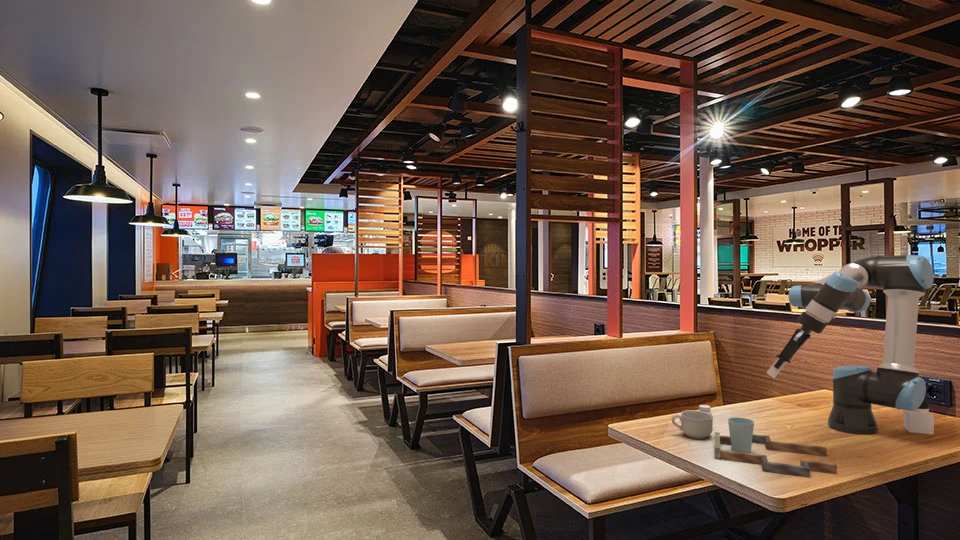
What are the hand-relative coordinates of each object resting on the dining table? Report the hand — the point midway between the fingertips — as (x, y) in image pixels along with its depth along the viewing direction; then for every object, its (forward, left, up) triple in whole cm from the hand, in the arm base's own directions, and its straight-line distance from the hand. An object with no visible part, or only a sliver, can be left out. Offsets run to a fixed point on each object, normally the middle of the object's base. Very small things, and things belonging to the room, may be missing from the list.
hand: (770, 375), depth 174 cm
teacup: (+25, -6, -25) cm, 35 cm away
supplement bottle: (+21, -17, -25) cm, 36 cm away
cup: (+9, +6, -25) cm, 27 cm away
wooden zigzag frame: (+1, +7, -25) cm, 26 cm away
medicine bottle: (-50, -42, -25) cm, 70 cm away
